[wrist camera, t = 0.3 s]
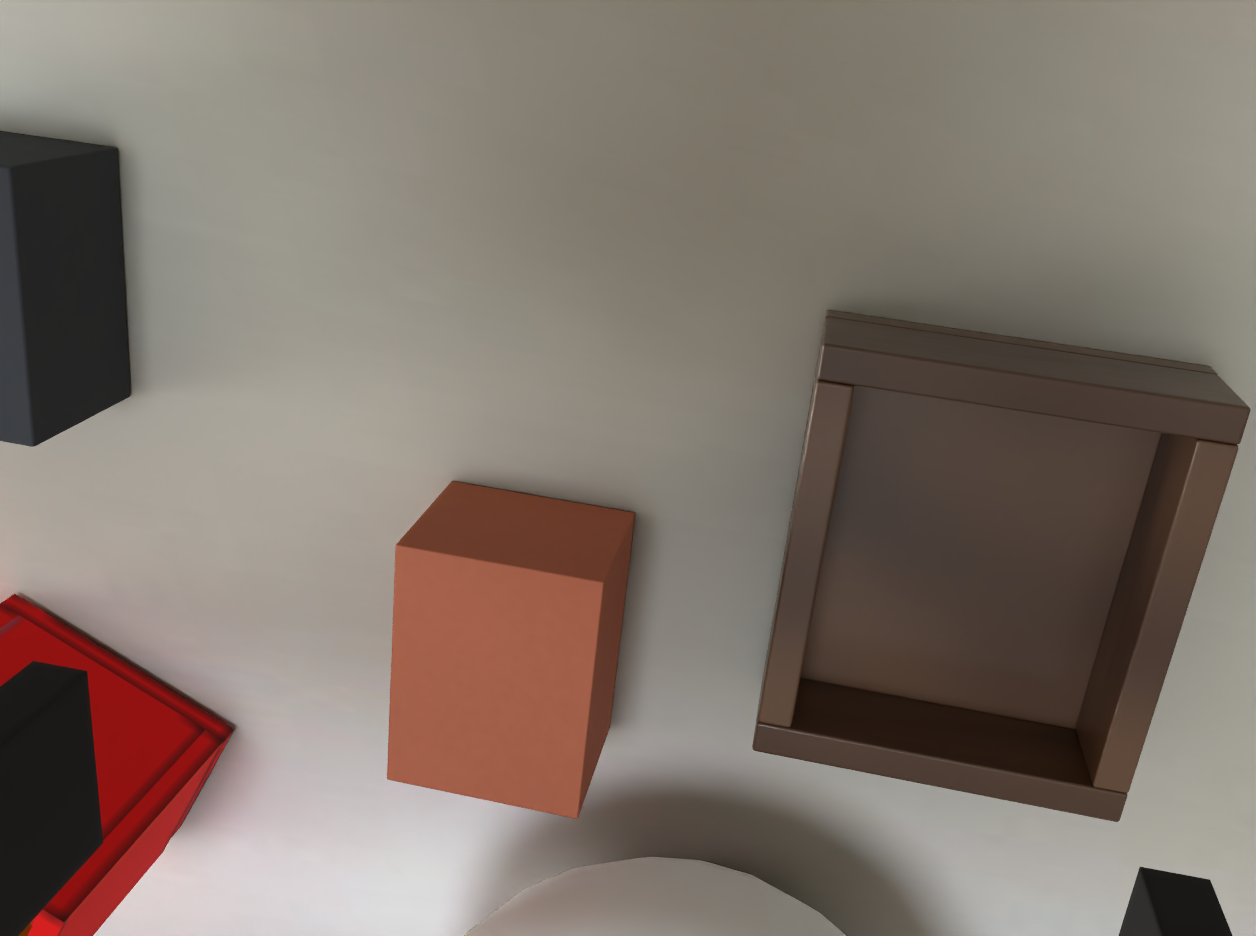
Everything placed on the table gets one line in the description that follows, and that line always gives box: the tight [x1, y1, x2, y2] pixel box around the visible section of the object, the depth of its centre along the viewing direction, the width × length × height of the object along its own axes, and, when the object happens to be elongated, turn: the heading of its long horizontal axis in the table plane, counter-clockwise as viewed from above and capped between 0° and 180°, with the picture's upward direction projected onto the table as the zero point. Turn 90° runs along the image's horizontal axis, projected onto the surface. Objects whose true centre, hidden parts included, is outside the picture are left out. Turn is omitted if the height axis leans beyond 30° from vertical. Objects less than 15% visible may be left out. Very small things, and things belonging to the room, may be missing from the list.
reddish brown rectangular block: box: [387, 481, 635, 819], centre depth 37 cm, size 8×6×5 cm
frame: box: [753, 310, 1250, 822], centre depth 34 cm, size 12×10×4 cm
